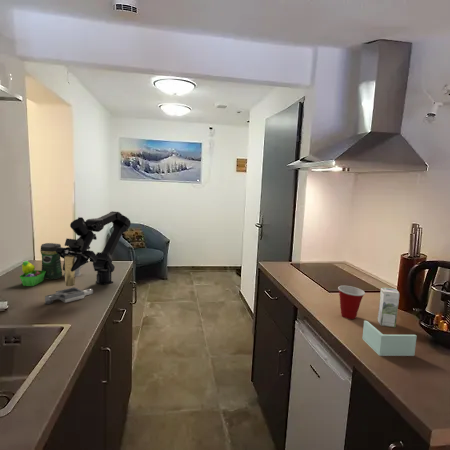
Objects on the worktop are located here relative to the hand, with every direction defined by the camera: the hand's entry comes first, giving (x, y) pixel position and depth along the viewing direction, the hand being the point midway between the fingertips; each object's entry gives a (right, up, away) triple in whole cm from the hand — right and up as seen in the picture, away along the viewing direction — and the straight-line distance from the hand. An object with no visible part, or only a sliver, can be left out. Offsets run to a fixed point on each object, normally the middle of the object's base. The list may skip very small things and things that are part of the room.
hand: (67, 270), depth 150 cm
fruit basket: (-28, -9, +21) cm, 36 cm away
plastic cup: (+121, -19, -6) cm, 123 cm away
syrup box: (+134, -20, -12) cm, 136 cm away
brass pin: (0, -7, +2) cm, 7 cm away
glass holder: (-13, -7, +40) cm, 43 cm away
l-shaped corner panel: (+125, -23, -32) cm, 131 cm away
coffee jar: (-23, -8, +32) cm, 40 cm away
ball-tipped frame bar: (0, -13, +3) cm, 13 cm away
